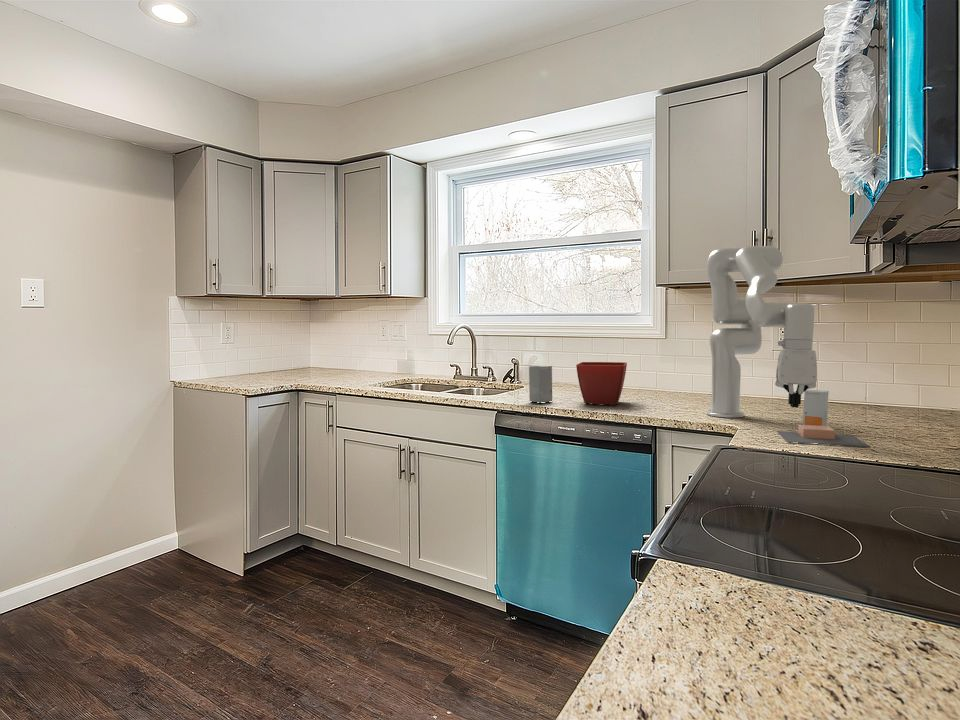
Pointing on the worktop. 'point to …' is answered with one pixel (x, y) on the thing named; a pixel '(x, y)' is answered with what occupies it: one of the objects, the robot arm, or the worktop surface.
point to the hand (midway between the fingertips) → (794, 406)
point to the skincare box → (815, 407)
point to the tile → (816, 432)
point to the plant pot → (601, 381)
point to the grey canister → (540, 383)
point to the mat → (839, 439)
